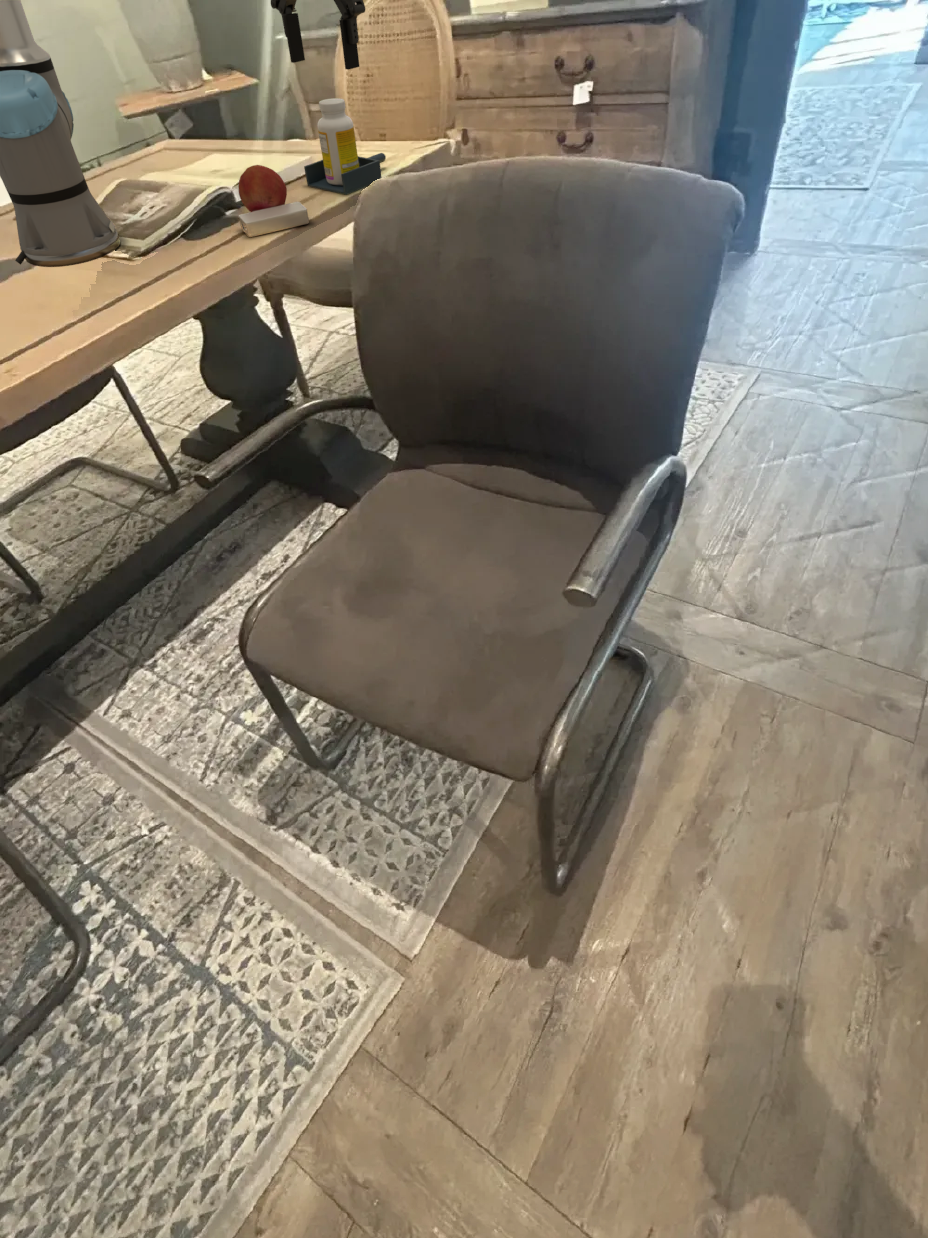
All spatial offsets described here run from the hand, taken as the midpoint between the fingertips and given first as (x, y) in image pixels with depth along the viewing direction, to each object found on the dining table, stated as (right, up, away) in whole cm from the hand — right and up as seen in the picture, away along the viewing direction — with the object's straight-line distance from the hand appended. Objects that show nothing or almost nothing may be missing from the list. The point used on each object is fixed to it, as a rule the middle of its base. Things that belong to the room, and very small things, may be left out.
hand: (324, 64), depth 125 cm
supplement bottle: (+1, -12, +13) cm, 18 cm away
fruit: (-10, -18, 0) cm, 21 cm away
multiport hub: (-8, -28, -4) cm, 29 cm away
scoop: (+3, -10, +15) cm, 19 cm away
